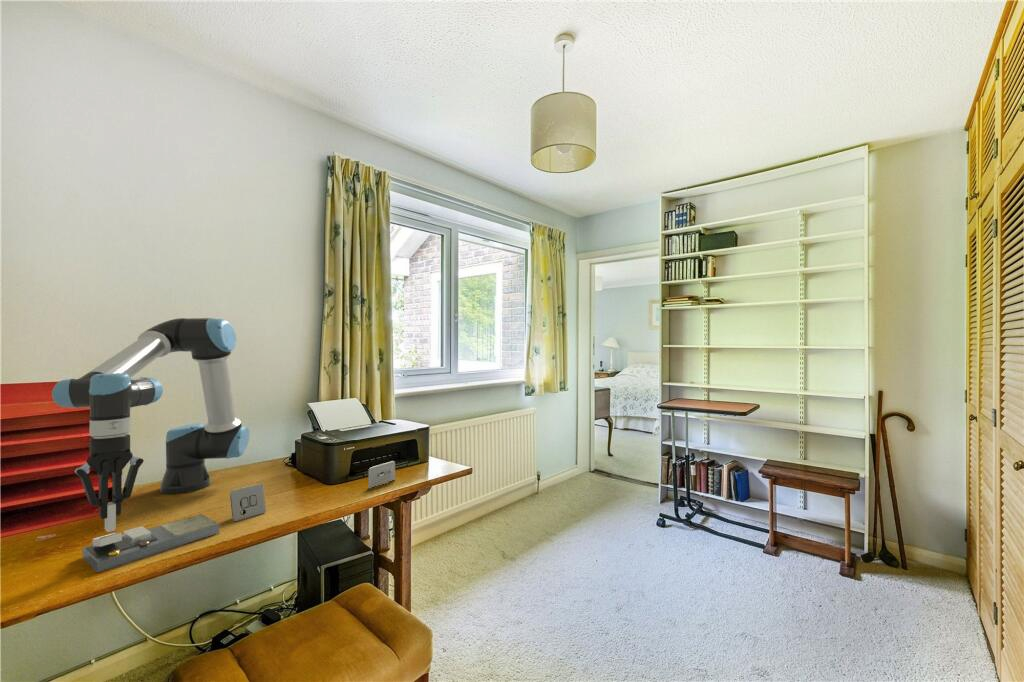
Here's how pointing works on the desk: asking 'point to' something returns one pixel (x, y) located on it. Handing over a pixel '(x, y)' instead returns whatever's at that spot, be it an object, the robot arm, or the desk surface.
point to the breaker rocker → (107, 539)
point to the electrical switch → (247, 502)
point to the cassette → (386, 477)
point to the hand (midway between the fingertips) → (110, 529)
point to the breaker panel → (149, 542)
